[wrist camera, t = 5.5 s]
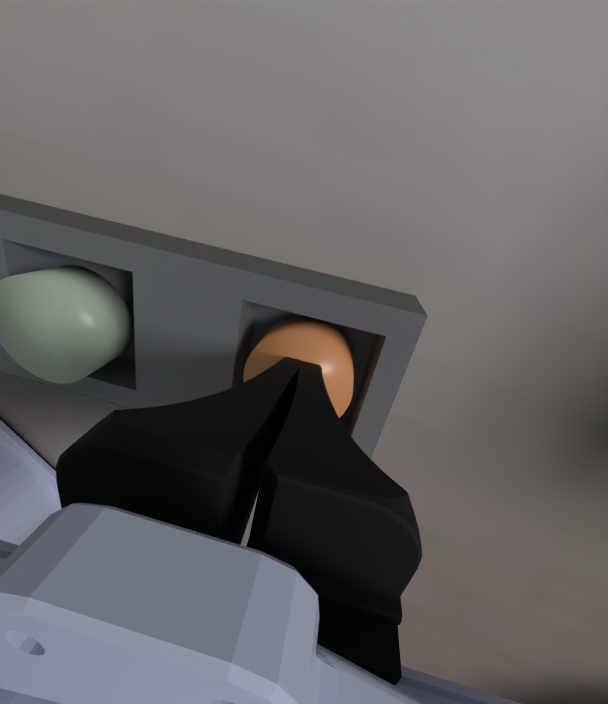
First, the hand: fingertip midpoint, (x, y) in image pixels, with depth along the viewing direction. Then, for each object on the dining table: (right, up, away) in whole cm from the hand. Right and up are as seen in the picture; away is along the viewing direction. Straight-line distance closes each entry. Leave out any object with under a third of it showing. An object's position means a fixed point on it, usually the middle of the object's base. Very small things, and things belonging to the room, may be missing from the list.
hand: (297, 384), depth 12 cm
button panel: (-8, +3, +3) cm, 9 cm away
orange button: (0, +1, +2) cm, 2 cm away
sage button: (-9, +3, +1) cm, 9 cm away
